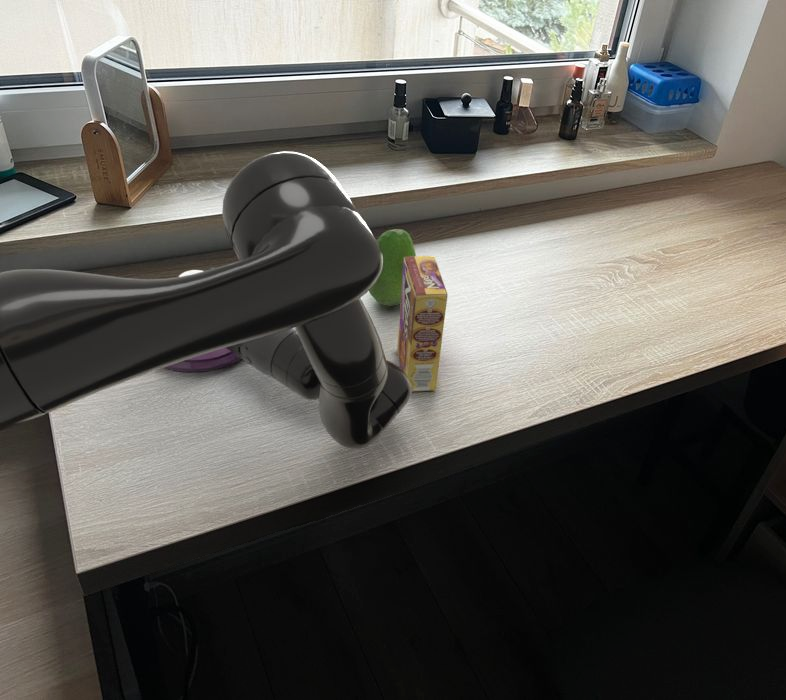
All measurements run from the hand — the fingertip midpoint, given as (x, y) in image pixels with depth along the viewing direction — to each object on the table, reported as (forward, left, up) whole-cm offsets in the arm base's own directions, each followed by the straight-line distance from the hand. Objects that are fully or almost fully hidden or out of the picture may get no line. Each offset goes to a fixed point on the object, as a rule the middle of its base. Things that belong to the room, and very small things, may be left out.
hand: (184, 284), depth 95 cm
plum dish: (0, -2, -7) cm, 7 cm away
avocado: (+26, -10, -7) cm, 29 cm away
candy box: (+19, -25, -7) cm, 33 cm away
